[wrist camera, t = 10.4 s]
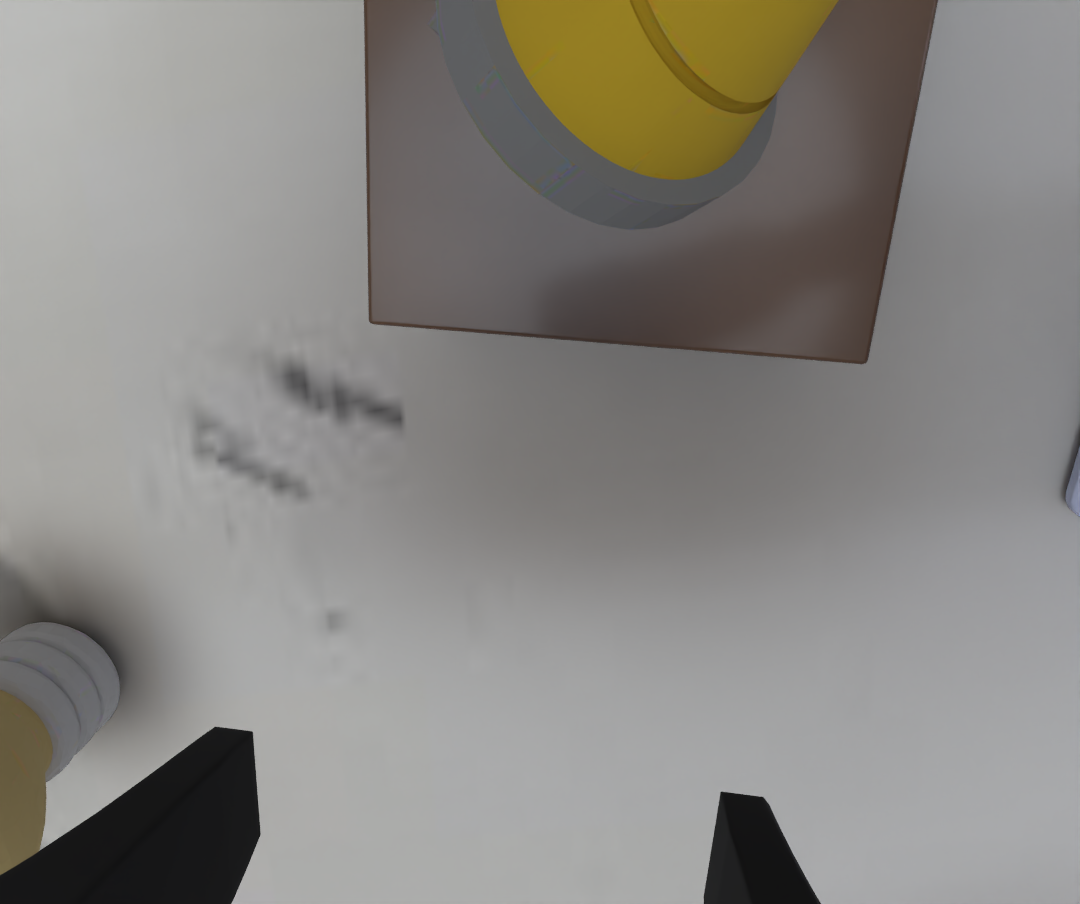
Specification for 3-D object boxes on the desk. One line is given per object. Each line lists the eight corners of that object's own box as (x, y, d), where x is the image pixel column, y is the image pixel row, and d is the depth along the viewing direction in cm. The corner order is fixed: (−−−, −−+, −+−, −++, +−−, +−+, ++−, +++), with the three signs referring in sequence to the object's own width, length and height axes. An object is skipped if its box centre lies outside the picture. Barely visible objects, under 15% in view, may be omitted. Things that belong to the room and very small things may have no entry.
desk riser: (942, -342, 15) (1035, -493, 12) (827, 321, 20) (867, 365, 16) (421, -346, 16) (354, -489, 13) (419, 289, 20) (367, 325, 17)
